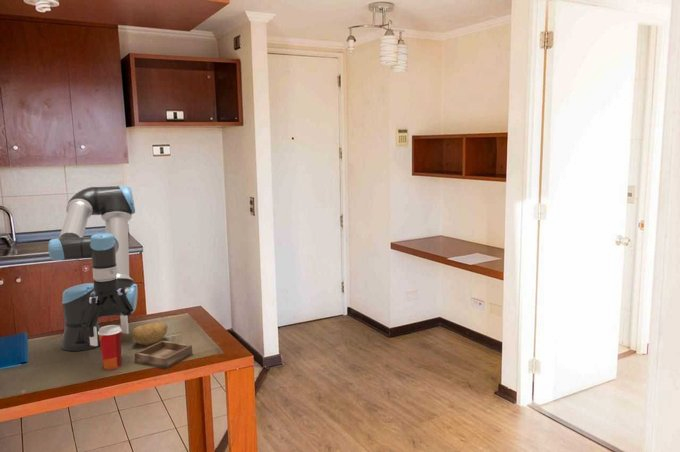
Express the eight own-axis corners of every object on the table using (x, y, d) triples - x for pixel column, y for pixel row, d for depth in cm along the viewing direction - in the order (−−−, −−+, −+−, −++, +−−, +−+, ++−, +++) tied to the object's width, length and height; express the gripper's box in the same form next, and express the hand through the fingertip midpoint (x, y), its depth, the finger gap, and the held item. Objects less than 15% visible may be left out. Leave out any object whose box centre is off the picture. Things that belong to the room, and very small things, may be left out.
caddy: (135, 362, 193) (134, 353, 192) (162, 349, 206) (162, 340, 205) (165, 368, 187) (165, 359, 187) (192, 354, 200) (192, 345, 199)
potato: (174, 341, 214) (172, 321, 213) (140, 351, 204) (138, 330, 203) (161, 335, 221) (160, 316, 220) (128, 345, 211) (126, 325, 209)
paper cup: (116, 360, 195) (113, 322, 193) (128, 365, 191) (126, 326, 189) (95, 367, 189) (92, 329, 187) (108, 372, 185) (105, 333, 183)
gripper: (82, 288, 173) (88, 352, 175) (141, 272, 195) (144, 329, 198) (66, 286, 176) (71, 349, 179) (125, 270, 198) (129, 327, 201)
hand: (110, 339), depth 188 cm, fingers open, 13 cm apart
